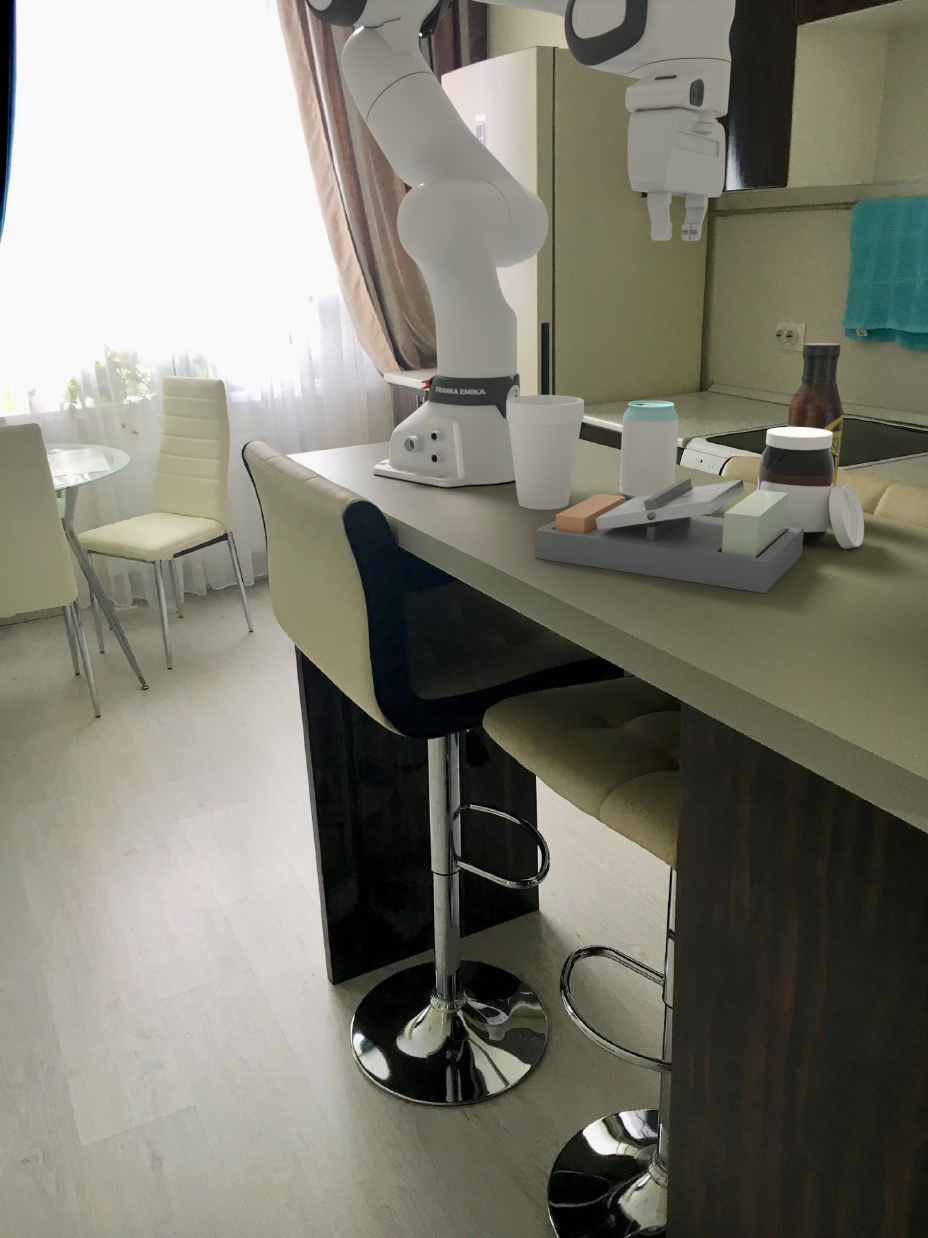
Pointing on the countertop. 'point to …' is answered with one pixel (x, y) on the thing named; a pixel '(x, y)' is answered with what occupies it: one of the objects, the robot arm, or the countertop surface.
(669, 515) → the rocker
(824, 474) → the spread jar
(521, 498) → the foam cup
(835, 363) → the sauce bottle
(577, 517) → the button terracotta
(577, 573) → the countertop surface
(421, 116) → the robot arm
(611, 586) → the countertop surface
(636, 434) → the can
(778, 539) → the grey rectangular tray
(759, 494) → the button sage
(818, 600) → the countertop surface
